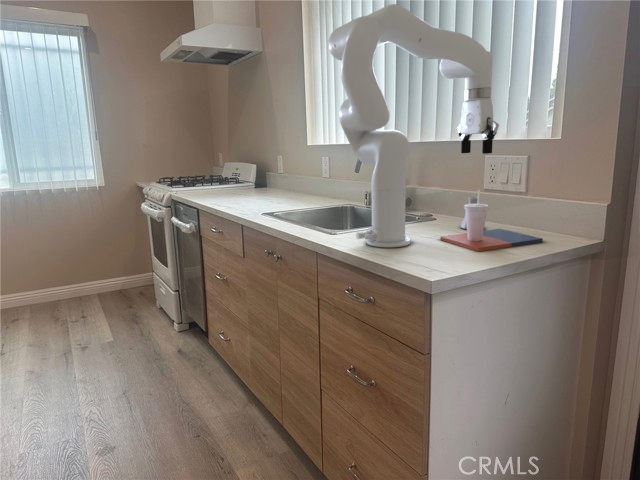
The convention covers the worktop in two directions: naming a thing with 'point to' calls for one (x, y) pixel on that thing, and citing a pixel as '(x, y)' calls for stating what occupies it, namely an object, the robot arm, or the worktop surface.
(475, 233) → the smoothie
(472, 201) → the flask
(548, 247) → the worktop surface
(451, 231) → the worktop surface
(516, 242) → the sorting board
